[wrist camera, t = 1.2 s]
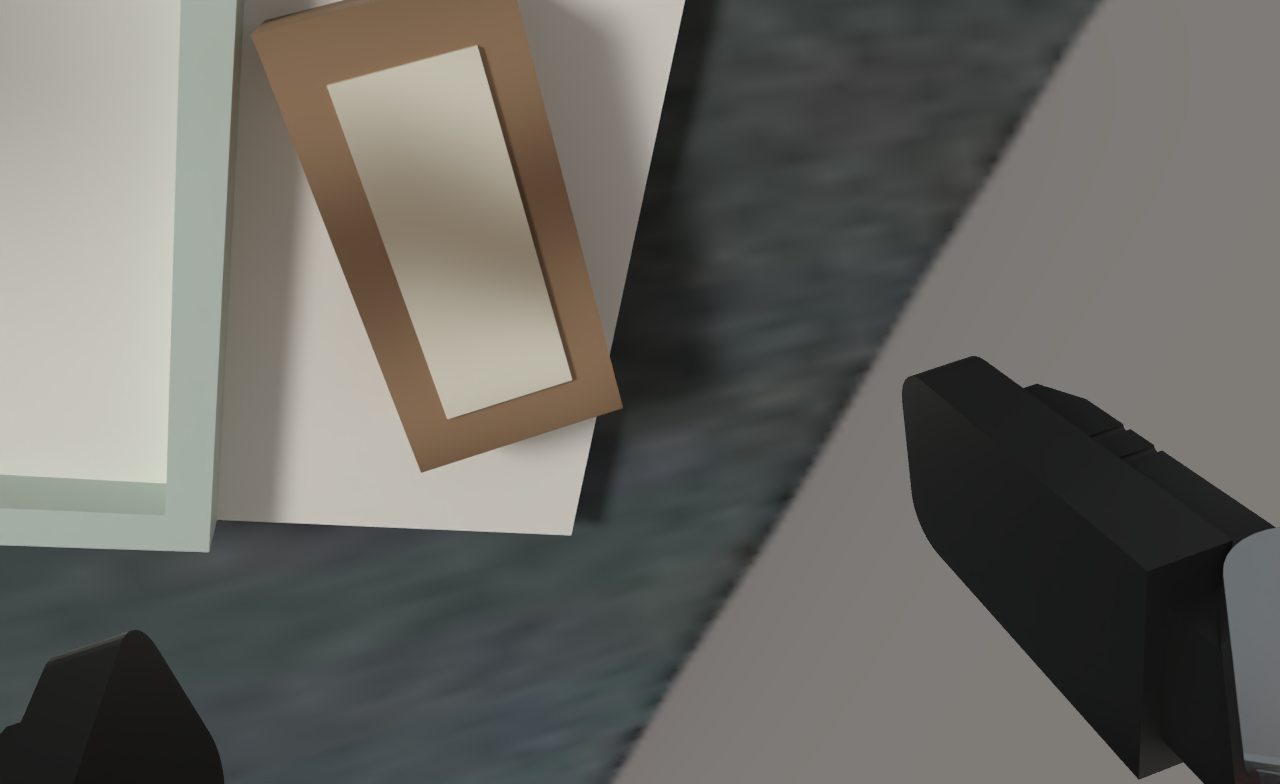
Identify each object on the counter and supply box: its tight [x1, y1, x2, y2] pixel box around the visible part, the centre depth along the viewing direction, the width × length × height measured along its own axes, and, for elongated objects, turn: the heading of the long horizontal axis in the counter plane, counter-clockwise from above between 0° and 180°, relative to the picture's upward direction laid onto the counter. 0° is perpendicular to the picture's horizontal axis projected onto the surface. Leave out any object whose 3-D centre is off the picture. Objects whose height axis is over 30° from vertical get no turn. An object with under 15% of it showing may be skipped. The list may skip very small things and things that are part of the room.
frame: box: [251, 0, 623, 473], centre depth 22 cm, size 10×5×3 cm, turn 13°
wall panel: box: [0, 0, 685, 552], centre depth 21 cm, size 20×19×3 cm
